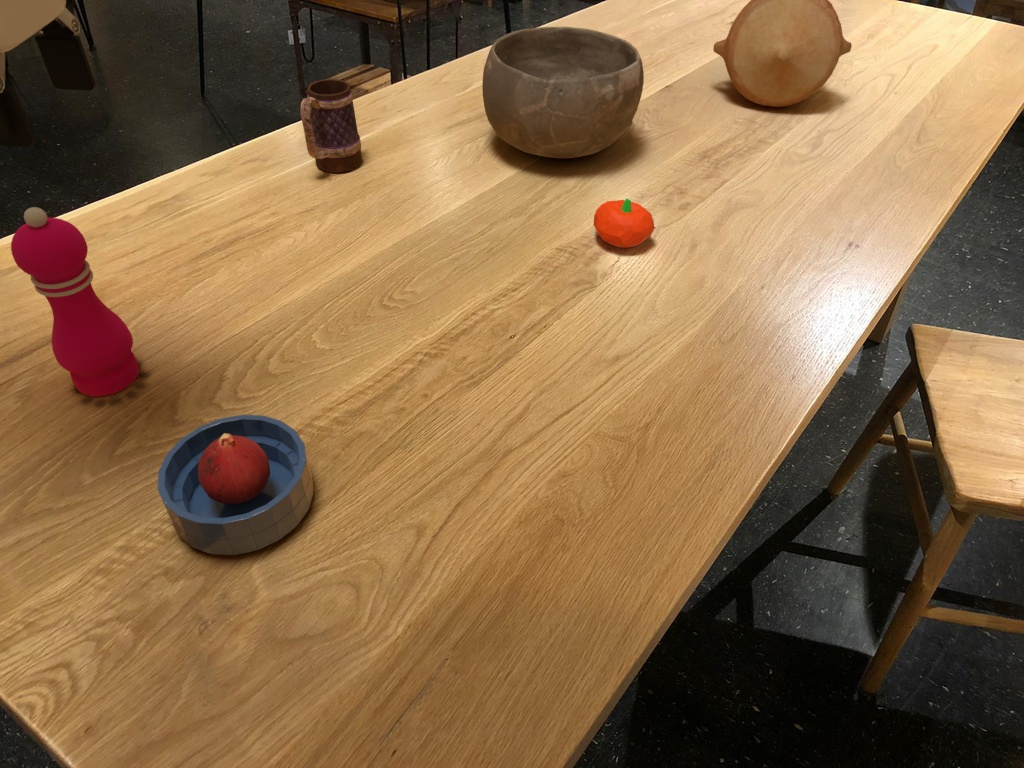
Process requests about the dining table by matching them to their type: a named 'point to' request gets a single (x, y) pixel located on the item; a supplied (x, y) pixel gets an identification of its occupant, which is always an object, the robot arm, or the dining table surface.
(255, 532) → the blue bowl
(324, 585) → the dining table surface
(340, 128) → the mug
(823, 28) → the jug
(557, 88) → the bowl
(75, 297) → the pepper mill
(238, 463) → the onion
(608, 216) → the pumpkin
